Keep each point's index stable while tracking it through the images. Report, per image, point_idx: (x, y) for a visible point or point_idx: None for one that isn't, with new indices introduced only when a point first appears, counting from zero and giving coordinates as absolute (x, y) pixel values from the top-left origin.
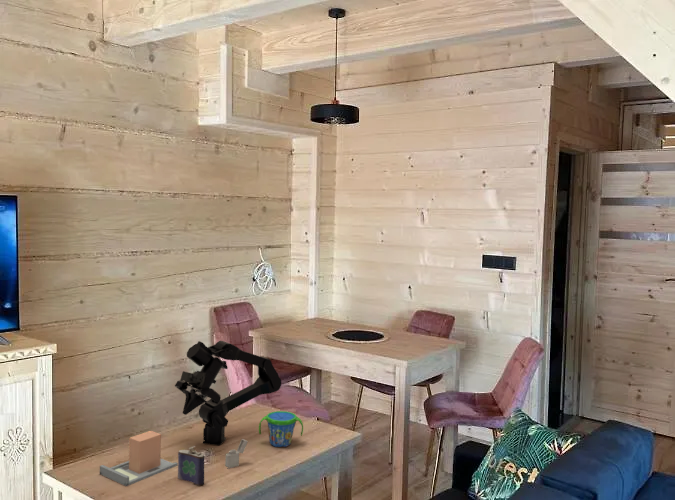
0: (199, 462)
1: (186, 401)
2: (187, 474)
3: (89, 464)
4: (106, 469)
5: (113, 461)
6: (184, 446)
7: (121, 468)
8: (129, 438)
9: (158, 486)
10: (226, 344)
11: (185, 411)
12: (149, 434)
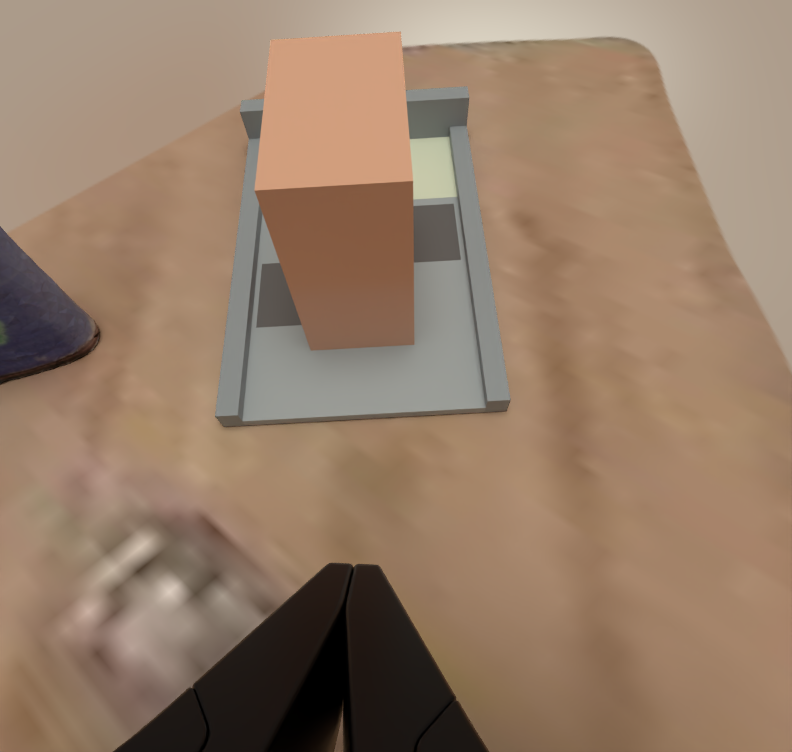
0: None
1: (402, 737)
2: None
3: (624, 153)
4: (407, 92)
5: (584, 234)
6: (501, 738)
7: (445, 203)
8: (400, 38)
9: (136, 229)
10: None
11: (307, 588)
12: (337, 134)
